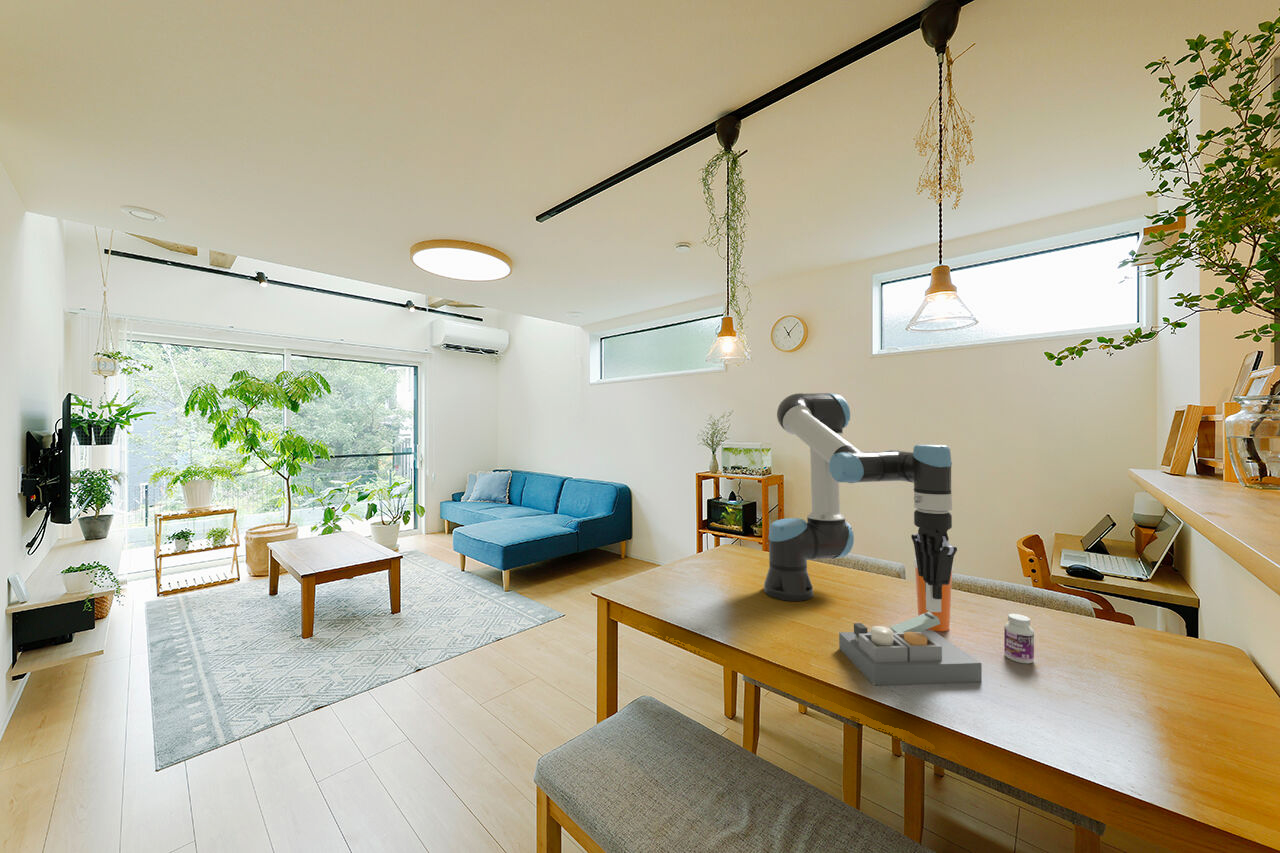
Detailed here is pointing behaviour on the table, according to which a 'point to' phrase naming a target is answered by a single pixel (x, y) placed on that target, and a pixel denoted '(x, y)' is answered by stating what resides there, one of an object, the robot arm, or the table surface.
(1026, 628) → the pill bottle
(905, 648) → the panel
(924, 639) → the button
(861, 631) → the slider
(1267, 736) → the table surface
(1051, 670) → the table surface
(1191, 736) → the table surface
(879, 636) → the button
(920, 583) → the shaker bottle
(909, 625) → the block
